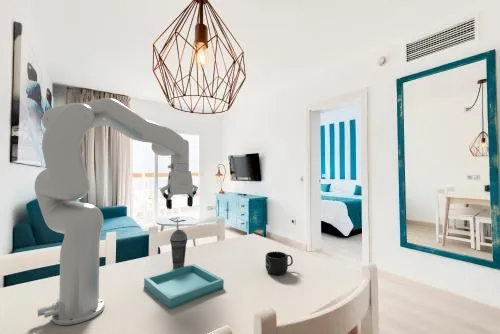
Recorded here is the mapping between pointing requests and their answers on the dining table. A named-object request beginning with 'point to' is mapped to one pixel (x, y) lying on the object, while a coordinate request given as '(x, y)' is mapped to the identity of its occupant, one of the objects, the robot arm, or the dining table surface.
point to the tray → (182, 285)
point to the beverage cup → (178, 247)
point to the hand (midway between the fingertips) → (179, 207)
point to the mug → (277, 262)
